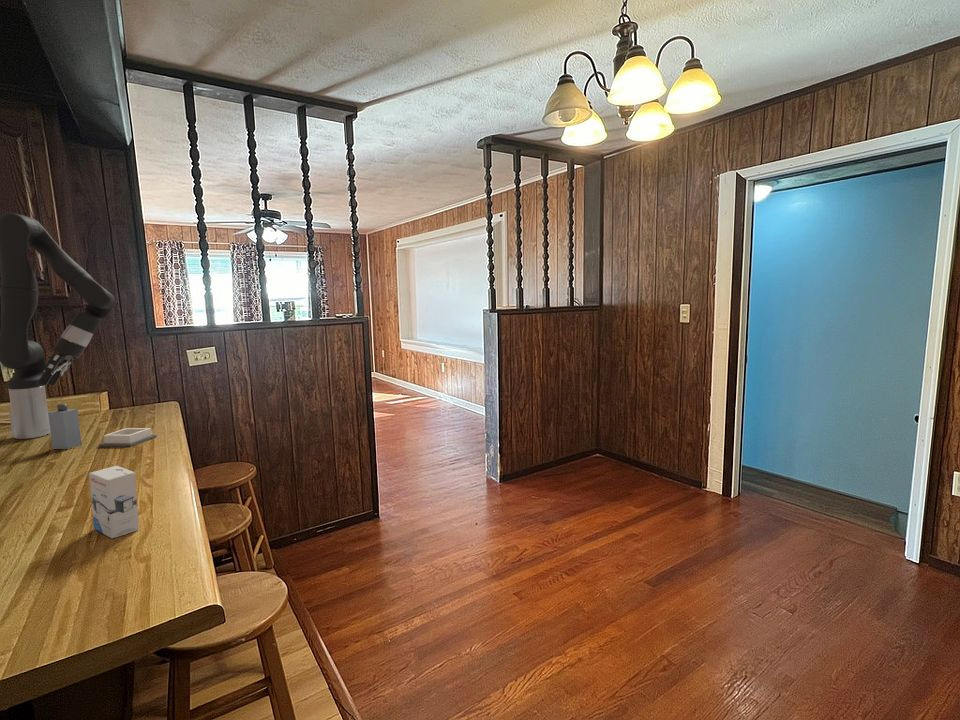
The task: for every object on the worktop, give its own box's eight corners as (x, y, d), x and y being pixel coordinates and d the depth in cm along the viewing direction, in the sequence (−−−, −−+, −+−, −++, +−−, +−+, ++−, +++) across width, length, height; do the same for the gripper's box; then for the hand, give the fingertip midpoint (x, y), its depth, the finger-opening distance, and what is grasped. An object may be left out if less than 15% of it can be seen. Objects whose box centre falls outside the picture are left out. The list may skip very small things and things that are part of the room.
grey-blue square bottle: (52, 449, 153) (47, 406, 152) (67, 445, 158) (62, 402, 157) (67, 450, 153) (61, 406, 151) (81, 445, 158) (76, 402, 156)
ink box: (93, 529, 98) (86, 472, 96) (122, 519, 102) (116, 465, 100) (112, 539, 93) (105, 480, 92) (142, 529, 97) (135, 472, 96)
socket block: (99, 446, 156) (97, 436, 156) (126, 436, 167) (125, 427, 167) (131, 446, 155) (130, 436, 155) (156, 436, 166) (155, 427, 166)
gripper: (67, 338, 172) (40, 380, 168) (54, 333, 159) (24, 379, 155) (91, 347, 174) (65, 389, 170) (80, 344, 162) (52, 388, 158)
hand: (46, 384), depth 163 cm, fingers open, 8 cm apart
